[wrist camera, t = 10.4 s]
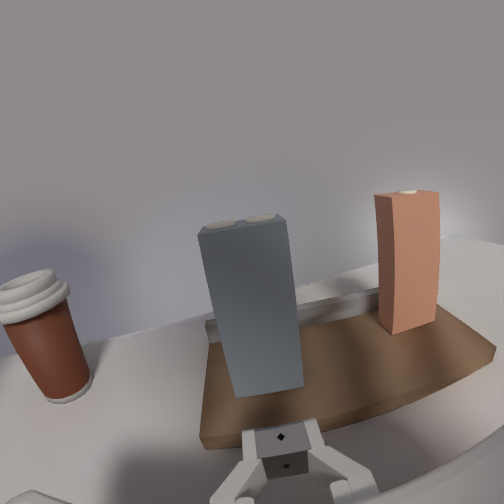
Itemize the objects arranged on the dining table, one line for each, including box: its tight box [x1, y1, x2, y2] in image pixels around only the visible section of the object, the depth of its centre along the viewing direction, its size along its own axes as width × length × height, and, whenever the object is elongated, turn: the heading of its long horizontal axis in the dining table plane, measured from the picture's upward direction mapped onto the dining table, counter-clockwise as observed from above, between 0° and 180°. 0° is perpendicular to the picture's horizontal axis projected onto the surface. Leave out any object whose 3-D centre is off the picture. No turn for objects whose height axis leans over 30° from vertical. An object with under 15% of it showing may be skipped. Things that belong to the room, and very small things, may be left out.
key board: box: [199, 287, 496, 450], centre depth 23 cm, size 24×16×4 cm, turn 94°
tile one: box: [374, 190, 440, 335], centre depth 23 cm, size 5×3×12 cm, turn 94°
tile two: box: [198, 214, 304, 398], centre depth 19 cm, size 5×3×12 cm, turn 94°
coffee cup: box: [0, 269, 93, 404], centre depth 22 cm, size 9×9×12 cm
